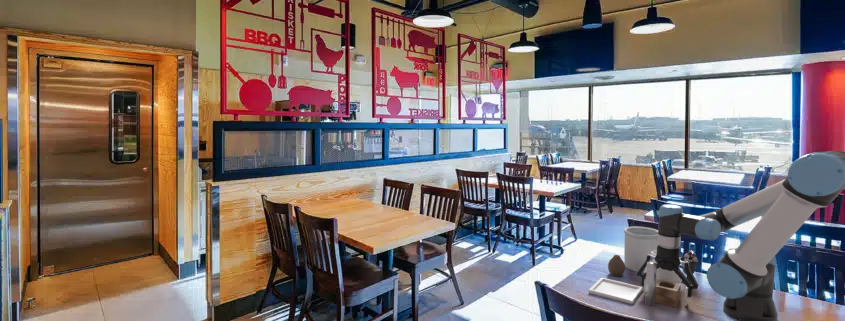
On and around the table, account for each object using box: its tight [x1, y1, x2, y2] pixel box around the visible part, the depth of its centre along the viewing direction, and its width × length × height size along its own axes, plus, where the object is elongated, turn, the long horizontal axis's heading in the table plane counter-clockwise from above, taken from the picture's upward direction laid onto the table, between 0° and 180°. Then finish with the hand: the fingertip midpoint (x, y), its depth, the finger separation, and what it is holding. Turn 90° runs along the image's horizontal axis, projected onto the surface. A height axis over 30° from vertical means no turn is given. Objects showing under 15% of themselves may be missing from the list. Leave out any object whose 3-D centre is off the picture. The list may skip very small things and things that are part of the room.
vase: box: [607, 254, 626, 277], centre depth 185 cm, size 7×7×9 cm
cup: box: [643, 250, 682, 284], centre depth 172 cm, size 13×13×14 cm
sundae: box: [679, 248, 700, 285], centre depth 175 cm, size 7×7×15 cm
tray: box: [588, 277, 644, 305], centre depth 167 cm, size 16×16×2 cm
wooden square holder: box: [655, 279, 682, 307], centre depth 159 cm, size 8×8×6 cm
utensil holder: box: [623, 226, 658, 273], centre depth 193 cm, size 15×15×18 cm
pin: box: [644, 262, 657, 307], centre depth 155 cm, size 3×3×16 cm
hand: (665, 299), depth 160 cm, fingers open, 13 cm apart
